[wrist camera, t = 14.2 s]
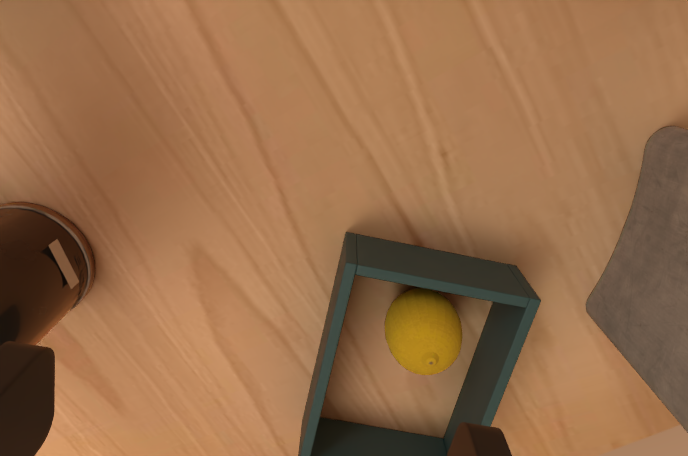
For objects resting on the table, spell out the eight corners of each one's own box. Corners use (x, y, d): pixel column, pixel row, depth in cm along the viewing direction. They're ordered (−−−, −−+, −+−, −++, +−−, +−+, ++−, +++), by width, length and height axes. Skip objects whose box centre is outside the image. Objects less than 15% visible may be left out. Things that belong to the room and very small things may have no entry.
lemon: (370, 316, 42) (374, 379, 34) (400, 260, 40) (413, 314, 32) (430, 341, 42) (447, 407, 35) (463, 287, 41) (489, 345, 33)
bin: (449, 446, 46) (461, 498, 41) (302, 420, 46) (296, 470, 40) (516, 265, 40) (541, 300, 35) (345, 231, 39) (345, 262, 34)
